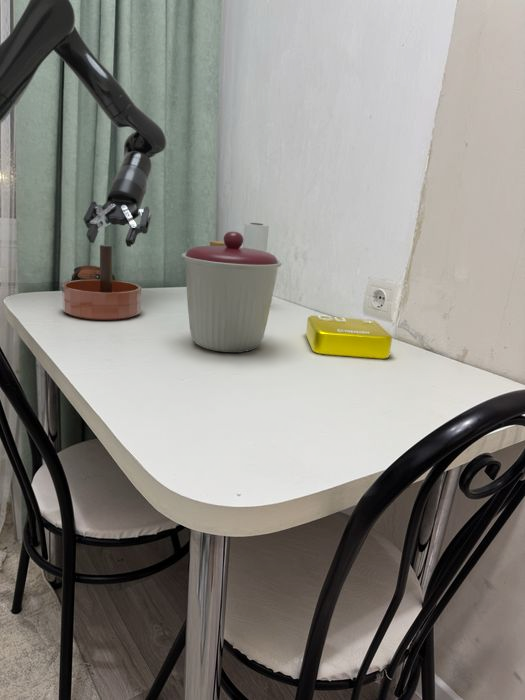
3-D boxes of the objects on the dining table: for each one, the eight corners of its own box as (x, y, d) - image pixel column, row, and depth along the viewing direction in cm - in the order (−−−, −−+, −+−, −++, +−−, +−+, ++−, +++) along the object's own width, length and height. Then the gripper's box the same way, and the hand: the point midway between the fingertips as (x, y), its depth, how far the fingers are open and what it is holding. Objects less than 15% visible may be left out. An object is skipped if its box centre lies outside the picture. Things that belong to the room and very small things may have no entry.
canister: (280, 339, 103) (290, 234, 97) (264, 365, 86) (276, 239, 80) (194, 328, 106) (199, 225, 100) (163, 351, 88) (167, 228, 83)
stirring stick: (90, 309, 112) (90, 245, 108) (100, 305, 116) (100, 243, 112) (111, 311, 111) (111, 247, 107) (120, 307, 116) (121, 245, 112)
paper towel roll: (248, 310, 129) (255, 224, 123) (233, 305, 133) (239, 221, 127) (269, 308, 133) (277, 225, 127) (254, 303, 138) (261, 223, 132)
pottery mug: (63, 297, 126) (63, 266, 128) (83, 307, 136) (82, 278, 137) (108, 289, 125) (107, 258, 126) (125, 300, 134) (123, 271, 136)
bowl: (48, 316, 105) (47, 287, 103) (83, 302, 121) (83, 277, 119) (125, 324, 104) (125, 295, 102) (150, 309, 120) (150, 284, 118)
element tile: (313, 354, 95) (316, 329, 94) (304, 334, 109) (307, 312, 108) (391, 360, 96) (395, 335, 94) (372, 339, 110) (376, 318, 109)
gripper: (94, 174, 117) (72, 227, 109) (154, 180, 115) (136, 233, 108) (104, 199, 123) (83, 250, 115) (161, 204, 122) (144, 256, 114)
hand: (109, 242), depth 111 cm, fingers open, 8 cm apart
